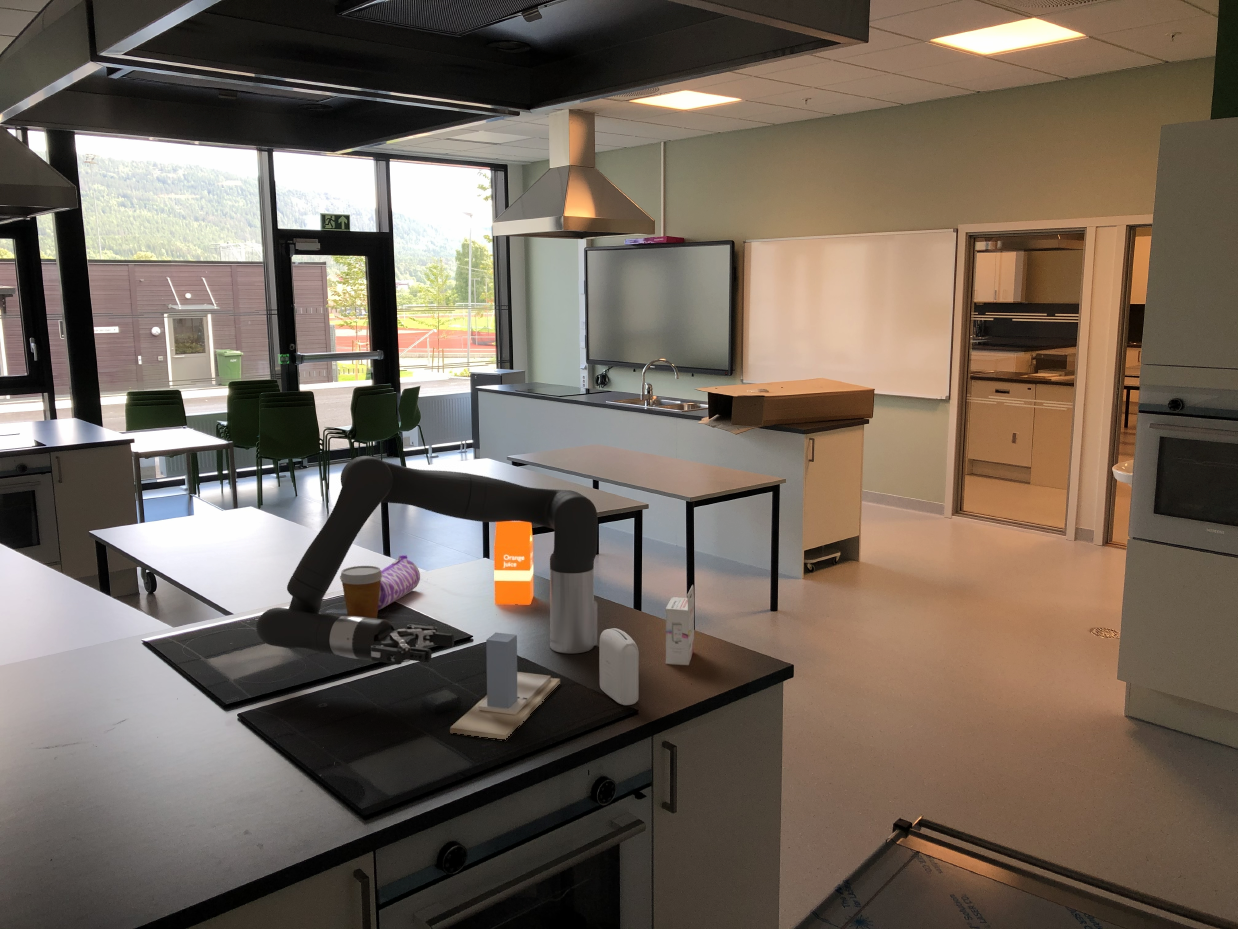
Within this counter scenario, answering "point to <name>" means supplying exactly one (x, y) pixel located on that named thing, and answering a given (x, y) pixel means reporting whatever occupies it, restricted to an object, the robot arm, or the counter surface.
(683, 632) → the ink cartridge box
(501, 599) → the orange juice
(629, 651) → the photo printer
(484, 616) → the counter surface
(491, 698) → the panel
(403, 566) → the pencil case
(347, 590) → the disposable coffee cup
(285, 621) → the robot arm
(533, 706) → the perforated strip board
